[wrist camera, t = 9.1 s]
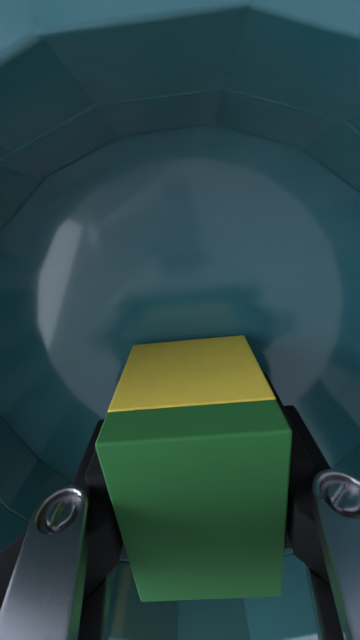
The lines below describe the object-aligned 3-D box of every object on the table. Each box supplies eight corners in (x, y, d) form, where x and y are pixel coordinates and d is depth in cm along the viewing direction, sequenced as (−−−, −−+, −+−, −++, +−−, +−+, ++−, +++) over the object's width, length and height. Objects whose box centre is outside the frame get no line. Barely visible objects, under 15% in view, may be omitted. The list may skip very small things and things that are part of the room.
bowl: (-126, 141, 8) (-563, 35, 3) (487, 62, 7) (1071, -233, 2) (43, 519, 14) (-24, 664, 10) (375, 500, 14) (475, 650, 9)
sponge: (132, 344, 10) (92, 445, 5) (244, 334, 9) (294, 431, 5) (155, 464, 12) (139, 603, 7) (246, 458, 11) (282, 597, 7)
